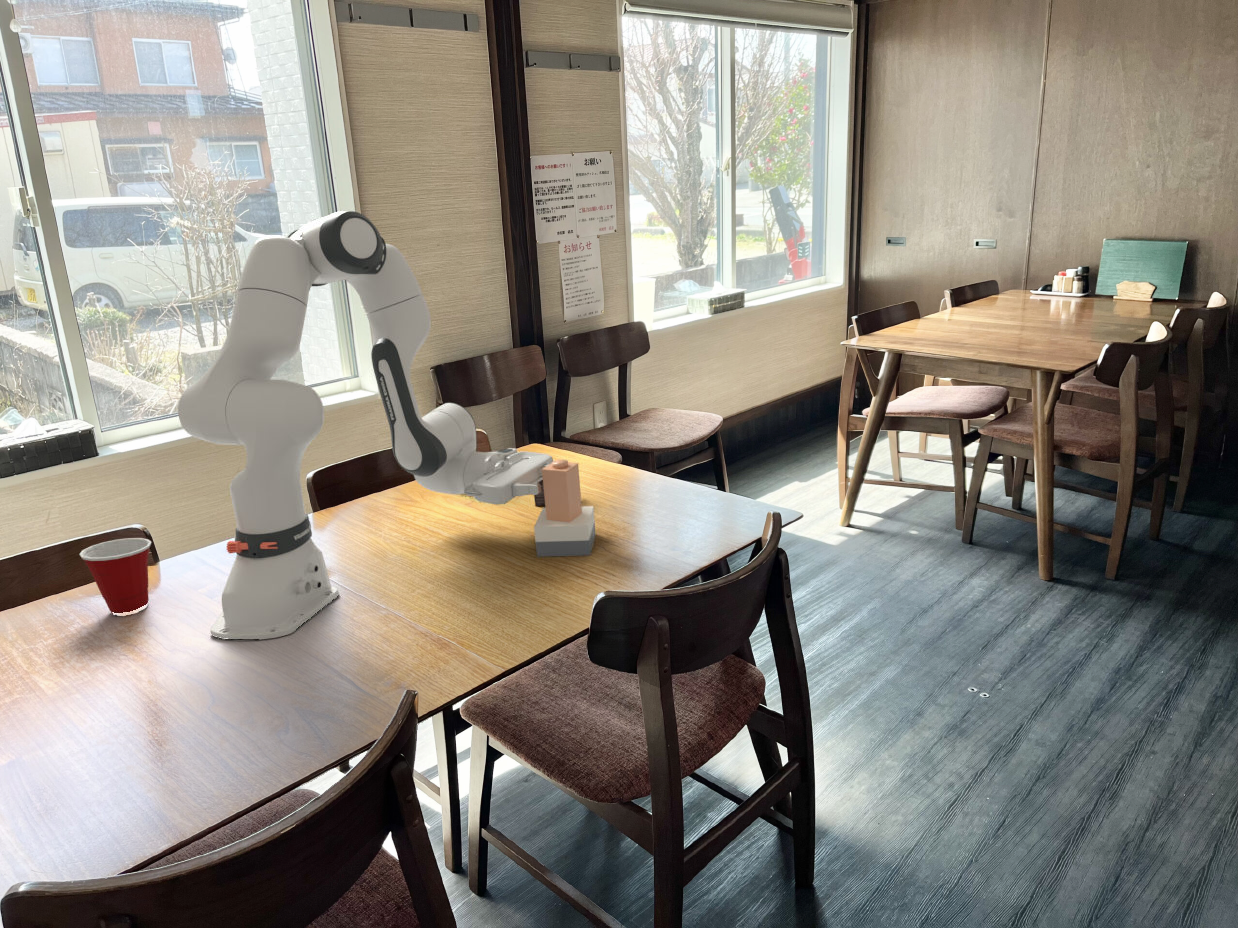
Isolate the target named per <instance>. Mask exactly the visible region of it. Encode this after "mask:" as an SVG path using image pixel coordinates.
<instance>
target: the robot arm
mask: <svg viewBox="0 0 1238 928" xmlns="http://www.w3.org/2000/svg"><path fill="white" fill-rule="evenodd" d="M343 281H346V282H347V283H348V284H349V285H350V286H352V287H353V289H354V290H355V291H356V293H357V294H358V296H359V298H360V302H361V304H362V307H363V309H364V312H365V314H366V317H367V320H368V323H369V326H370V331H371V335H372V336H371V337H372V349H371V357H370V358H371V365H372V368H373V373H374V378H375V380H376V384H377V387H378V392H379V393H380V394H379V395H380V398H381V401H382V405H383V408H384V411H385V414H386V419H387V421H388V426H389V430H390V437H391V438H390V439H391V447H392V452H393V457H394V458H395V461H396V462H397V464H398V466H400V467H401V468H402V470H404V471H406V472H407V473H408V474H409V473H410V474H411V475H413V477H414V479H415V481H416V482H417V483H418V485H420V486H421V487H422V488H424V489H426V490H429V491H431V492H435V493H440V494H441V493H442V494H446V495H447V494H448V495H453V496H454V495H456V496H458V495H462V494H463V495H465V496H468V497H473V498H474V499H475V501H477V502H479V503H485V504H491V505H505V504H507V503H509V502H510V501H512V500H513V499H514V498H516V497H522V496H529V495H533V496H534V495H537V494H539V493H540V492H541V485H540V484H538V482H540V481H541V480H543V475H542V469H543V468H545V467H546V466H548V465H550V464H551V463H552V462H553V461H554V458H553V456H552V455H550V454H547V453H543V452H542V453H541V452H535V451H534V452H532V451H526V450H525V451H518V449H517V448H515V447H514V448H512V447H508V448H504V449H501V450H498V451H486V452H483V451H477V448H478V442H477V441H478V440H477V439H478V438H477V427H476V422H475V419H474V417H473V416H472V414H471V413H470V412H469V410H467V409H466V407H463V406H462V405H460V404H457V403H455V402H445V403H443V404H442V405H440V406H438V407H436V408H434V409H433V410H431V411H429V412H428V413H426V414H425V415H423V416H422V415H421V412H420V408H419V405H418V402H417V397H416V395H415V391H414V387H413V384H412V379H411V370H412V369H411V368H412V365H413V362H414V360H415V357H416V355H417V353H418V352H419V350H420V349H421V347H422V346H423V345H424V344H425V342H426V340H427V339H428V336H429V335H430V332H431V329H432V328H431V326H432V318H431V314H430V313H431V312H430V310H429V306H428V304H427V301H426V298H425V297H424V294H423V292H422V289H421V287H420V284H419V282H418V280H417V277H416V275H414V272H413V270H412V268H411V267H410V265H409V263H408V262H407V260H406V258H405V257H404V255H403V253H402V252H401V251H400V250H399V248H398V247H396V246H394V245H392V244H389V243H386V241H385V239H384V238H383V236H381V233H380V232H379V230H378V228H377V227H376V225H375V224H374V223H373V222H372V221H371V220H370V218H368V217H367V216H365V215H364V214H362V213H360V212H357V211H353V210H341V211H336V212H333V213H330V214H329V215H326V216H324V217H323V216H322V217H320V218H317V219H313V220H311V221H309V222H308V223H306V224H304V225H303V226H301V227H300V228H297V229H295V230H293V231H292V232H291V233H290V234H288V236H284V235H279V234H278V235H277V234H275V235H272V234H271V235H266V236H262V237H261V238H259V239H256V241H254V243H253V245H252V247H251V249H250V251H249V253H248V256H247V258H246V261H245V264H244V267H243V269H242V273H241V277H240V280H239V284H238V288H237V291H236V297H235V302H234V306H233V312H232V315H231V318H230V319H231V320H230V324H229V329H228V332H227V334H226V335H227V336H226V338H225V339H224V342H223V345H222V347H221V349H220V351H219V352H218V353H217V355H216V357H215V358H214V360H213V361H212V363H211V364H210V366H209V367H208V369H206V371H205V373H204V374H203V375H201V377H200V378H199V379H197V380H196V381H195V382H193V383H192V384H190V385H188V387H186V388H185V389H184V391H183V392H182V394H181V396H180V397H179V400H178V405H177V413H178V418H179V422H180V424H181V427H182V428H183V431H185V432H186V433H187V434H189V435H190V436H191V437H194V438H196V439H199V440H202V441H205V442H209V443H212V444H215V445H231V446H244V448H245V451H246V463H245V464H246V465H245V468H243V469H242V470H240V471H239V472H238V473H237V474H236V475H235V477H233V479H232V480H231V483H230V485H229V492H230V498H231V502H232V503H231V504H232V508H233V512H234V517H235V522H236V527H235V536H234V541H233V540H229V541H227V543H226V552H227V553H228V554H236V555H235V556H236V557H235V560H234V561H233V562H234V563H233V564H232V567H231V569H230V571H229V575H228V577H227V580H226V583H225V586H224V588H223V591H222V594H221V607H222V611H221V613H220V614H219V616H218V618H217V619H216V620H215V622H214V624H213V625H212V626H211V629H210V635H211V634H212V635H214V636H217V637H221V638H228V639H259V640H266V639H275V638H280V637H283V636H287V635H290V634H292V633H293V632H295V631H297V630H298V629H299V628H300V627H302V626H303V625H304V624H305V623H306V621H307V620H308V619H309V620H310V619H312V618H313V617H314V616H315V615H316V614H318V613H319V612H320V611H321V610H323V609H324V608H325V607H326V606H328V605H329V604H330V603H331V602H333V601H334V600H335V599H337V598H338V597H339V596H340V592H339V589H338V588H337V587H335V586H333V585H331V581H330V577H329V572H328V569H327V565H326V562H325V559H324V558H325V557H324V555H323V551H322V550H321V549H320V548H319V547H318V546H317V545H316V544H315V543H314V541H313V539H312V536H313V532H312V523H311V521H310V517H309V515H308V514H307V513H306V510H305V504H304V503H305V502H304V497H303V490H302V483H301V467H302V462H303V458H304V456H305V455H304V454H305V452H306V450H307V448H308V447H309V446H310V444H311V443H312V442H313V441H314V440H315V439H316V438H317V437H318V435H320V432H321V431H322V428H323V425H324V421H325V409H324V405H323V404H324V403H323V401H322V400H321V397H320V395H319V394H318V392H317V391H316V390H315V389H313V388H312V387H310V386H308V385H305V384H301V383H298V382H294V381H290V380H287V379H286V380H285V379H272V378H273V376H274V375H275V373H276V372H277V371H278V370H279V368H280V367H281V366H282V365H284V364H285V363H286V362H288V361H290V360H292V359H293V358H294V357H295V356H296V354H297V353H298V351H299V349H300V346H301V341H302V335H303V330H304V324H305V319H306V315H307V308H308V301H309V296H310V295H309V294H310V291H311V288H312V287H322V286H326V285H328V284H331V283H336V282H337V283H338V282H343ZM338 595H339V596H338ZM337 596H338V597H337ZM333 599H334V600H333ZM332 600H333V601H332ZM328 603H329V604H328ZM327 604H328V605H327ZM325 605H326V606H325ZM324 606H325V607H324ZM323 607H324V608H323ZM322 608H323V609H322ZM320 609H321V610H320ZM319 610H320V611H319ZM318 611H319V612H318ZM317 612H318V613H317ZM315 613H316V614H315ZM314 614H315V615H314ZM313 615H314V616H313ZM312 616H313V617H312ZM311 617H312V618H311ZM309 620H308V621H309ZM308 621H307V622H308ZM304 622H305V623H304ZM303 623H304V624H303ZM302 624H303V625H302ZM301 625H302V626H301ZM299 626H300V627H299ZM298 627H299V628H298ZM297 628H298V629H297ZM296 629H297V630H296Z"/></svg>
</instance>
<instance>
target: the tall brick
mask: <svg viewBox="0 0 1238 928" xmlns="http://www.w3.org/2000/svg"><path fill="white" fill-rule="evenodd" d="M542 475H543V486H544V497H545V506H544V508H546V518H547V520H554V521H563V522H571V521H572V520H574V519H575V518H576V517H578V516H579V515H580V514H581V513H582V496H581V495H582V494H581V483H580V468H579V463H578V462H571V461H568V460H567V459H556V460H555V459H554V460H553V462H552V463H551V464H550V465H548V466H546V467H545V468H543V469H542Z"/></svg>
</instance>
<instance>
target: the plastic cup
mask: <svg viewBox="0 0 1238 928" xmlns="http://www.w3.org/2000/svg"><path fill="white" fill-rule="evenodd" d="M151 545H152V541H151V540H150V539H148V538H143V537H134V538H133V537H132V538H131V537H130V538H129V537H128V538H120V539H114V540H108V541H104V542H100V543H97V544H93V545H91V546H89V547H87V548H84V549H82V550H81V552H80V553H79V556H80V557H81V559H82V560H84V562H85V565H87V567H88V570H89V572H90V573H91V575H92V577H93V579H94V581H95V583H96V586H97V588H98V590H99V591H100V594H101V596H102V599H103V600H104V601H105V603H106V606H107V607H108V609H109V611H111V612H114V613H123V612H130V611H133V610H136V609H138V608H140V607H142V606H144V605H146V604H147V603H148V604H149V602H148V601H150V600H149V599H150V598H149V567H148V566H149V564H148V563H149V562H148V560H149V551H150V547H151ZM111 612H110V613H111Z"/></svg>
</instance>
